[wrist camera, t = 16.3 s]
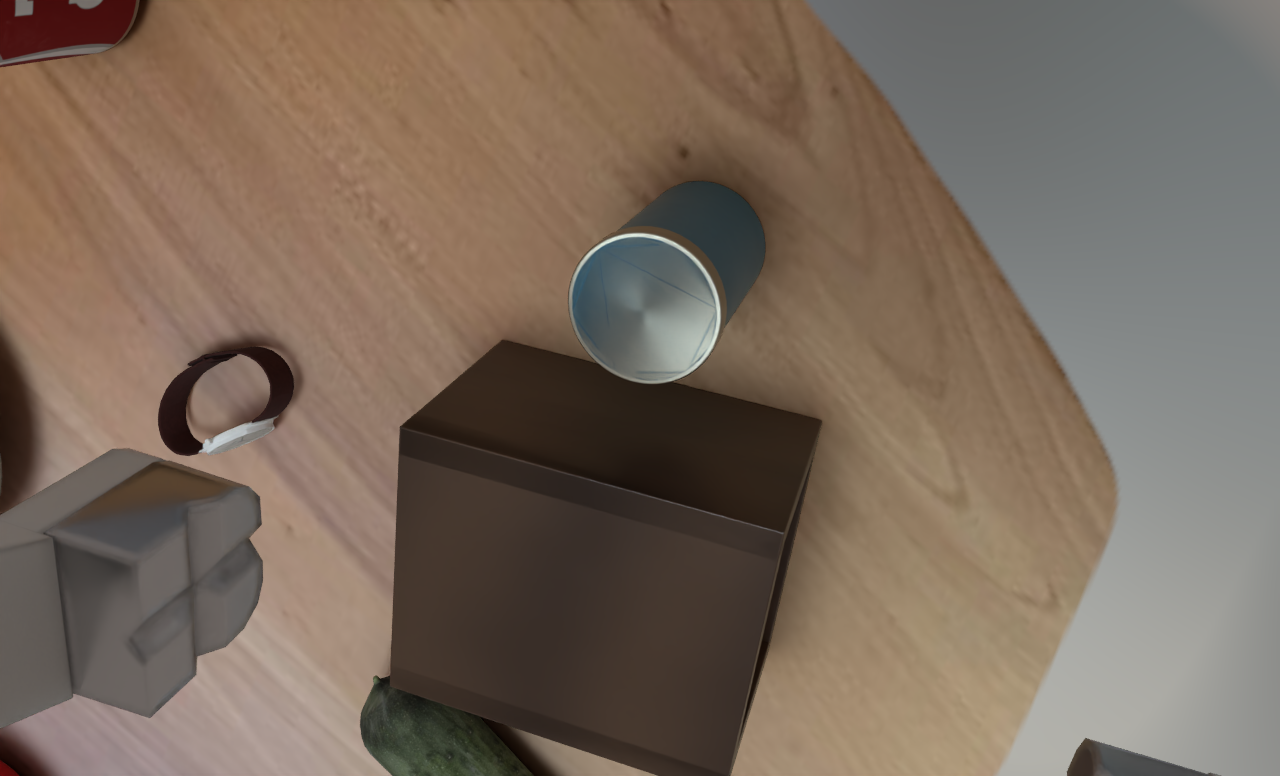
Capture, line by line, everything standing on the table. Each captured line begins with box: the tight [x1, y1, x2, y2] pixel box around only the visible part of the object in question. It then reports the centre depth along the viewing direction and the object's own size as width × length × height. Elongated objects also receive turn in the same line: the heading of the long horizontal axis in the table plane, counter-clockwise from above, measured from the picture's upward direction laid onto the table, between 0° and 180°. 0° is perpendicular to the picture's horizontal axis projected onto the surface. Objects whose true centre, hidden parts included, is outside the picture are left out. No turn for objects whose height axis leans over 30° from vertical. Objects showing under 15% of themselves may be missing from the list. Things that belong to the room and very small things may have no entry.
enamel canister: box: [568, 181, 765, 384], centre depth 38 cm, size 5×5×8 cm
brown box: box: [390, 340, 822, 776], centre depth 43 cm, size 14×12×9 cm
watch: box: [158, 347, 294, 456], centre depth 49 cm, size 8×5×4 cm, turn 122°
